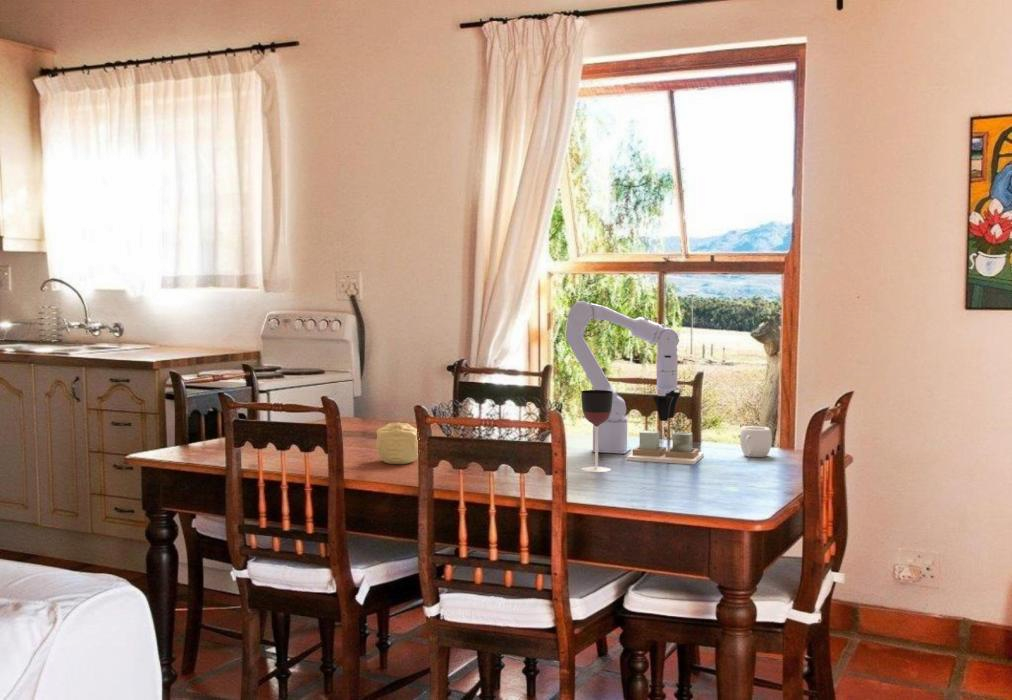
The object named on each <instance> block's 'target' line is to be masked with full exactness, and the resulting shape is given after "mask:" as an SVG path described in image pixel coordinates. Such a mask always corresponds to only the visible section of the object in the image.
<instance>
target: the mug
mask: <svg viewBox="0 0 1012 700" xmlns="http://www.w3.org/2000/svg"><path fill="white" fill-rule="evenodd" d="M739 436H740V438H739V440H740V441H739V442H740V443H739V444H740V448H741V451H742V453H743V455H744V456H745V457H749V458H755V457H761V458H764V457H765V458H766V457H767V456H768V454H769V453H770V451H771V448H772V441H773V438H772V437H773V435H772V430H771V428H769V427H766V426H759V425H758V426H757V425H755V426H754V425H753V426H751V425H749V426H743V427H742V428H741V430H740V435H739Z"/></svg>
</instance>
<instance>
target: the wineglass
mask: <svg viewBox="0 0 1012 700" xmlns="http://www.w3.org/2000/svg"><path fill="white" fill-rule="evenodd" d="M580 398H581V409H582V413H583V416H584V418H585V420H587V421H588V422H589V423H591V424H592V425H595V452H594V466H587V467H582V468H581V470H582V471H584V472H591V473H603V472H605V473H606V472H610V471H612V469H611V468H609V467H605V466H599V452H598V426H599V425H600V424H602V423H604V422H605V421H606V420H607V419H608V418H609V416H610V413H611V409H612V398H613V392H612V391H607V390H595V389H587V390H586V389H585V390H582V391H580Z"/></svg>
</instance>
